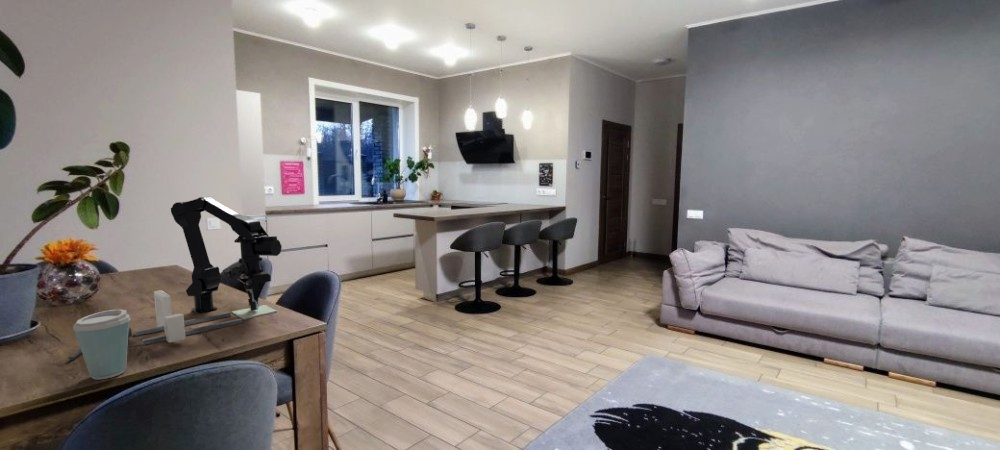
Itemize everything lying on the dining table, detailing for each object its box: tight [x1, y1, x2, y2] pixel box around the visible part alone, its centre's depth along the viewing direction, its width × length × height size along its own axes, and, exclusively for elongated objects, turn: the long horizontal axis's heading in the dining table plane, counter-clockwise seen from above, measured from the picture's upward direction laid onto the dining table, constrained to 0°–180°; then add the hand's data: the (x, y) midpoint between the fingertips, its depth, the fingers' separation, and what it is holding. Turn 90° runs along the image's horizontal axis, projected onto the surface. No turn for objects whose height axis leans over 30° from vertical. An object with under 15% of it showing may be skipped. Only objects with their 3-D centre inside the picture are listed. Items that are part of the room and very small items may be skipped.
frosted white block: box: [153, 289, 186, 343], centre depth 137 cm, size 20×4×11 cm, turn 47°
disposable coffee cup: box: [72, 309, 131, 380], centre depth 111 cm, size 11×11×15 cm
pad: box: [231, 304, 278, 320], centre depth 162 cm, size 11×11×1 cm
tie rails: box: [134, 311, 243, 346], centre depth 145 cm, size 13×26×1 cm, turn 137°
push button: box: [242, 281, 260, 311], centre depth 162 cm, size 7×5×10 cm
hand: (253, 298), depth 161 cm, fingers closed on push button, 4 cm apart
